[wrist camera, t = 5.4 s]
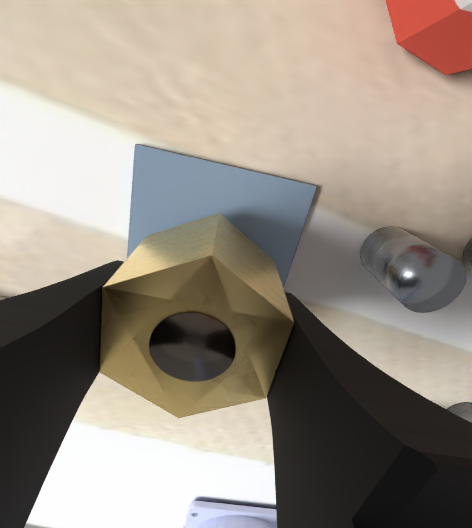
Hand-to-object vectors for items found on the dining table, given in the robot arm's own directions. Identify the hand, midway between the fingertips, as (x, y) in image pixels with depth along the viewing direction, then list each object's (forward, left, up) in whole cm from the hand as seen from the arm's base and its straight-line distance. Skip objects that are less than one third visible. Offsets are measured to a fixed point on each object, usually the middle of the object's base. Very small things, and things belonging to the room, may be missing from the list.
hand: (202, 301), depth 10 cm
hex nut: (0, 0, -2) cm, 2 cm away
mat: (0, 0, -3) cm, 3 cm away
